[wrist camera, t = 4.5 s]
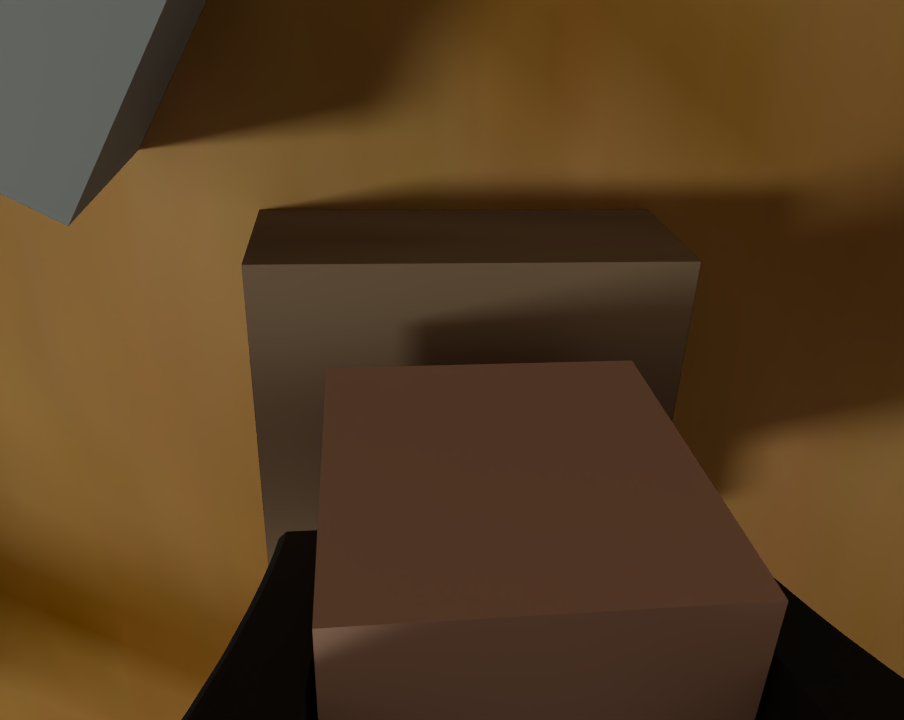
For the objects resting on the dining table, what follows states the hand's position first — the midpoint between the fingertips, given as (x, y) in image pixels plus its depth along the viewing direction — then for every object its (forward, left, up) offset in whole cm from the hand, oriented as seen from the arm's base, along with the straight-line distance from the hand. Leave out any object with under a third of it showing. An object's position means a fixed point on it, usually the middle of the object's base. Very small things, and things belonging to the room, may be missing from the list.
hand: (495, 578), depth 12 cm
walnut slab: (0, 0, -6) cm, 6 cm away
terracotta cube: (0, 0, -2) cm, 2 cm away
